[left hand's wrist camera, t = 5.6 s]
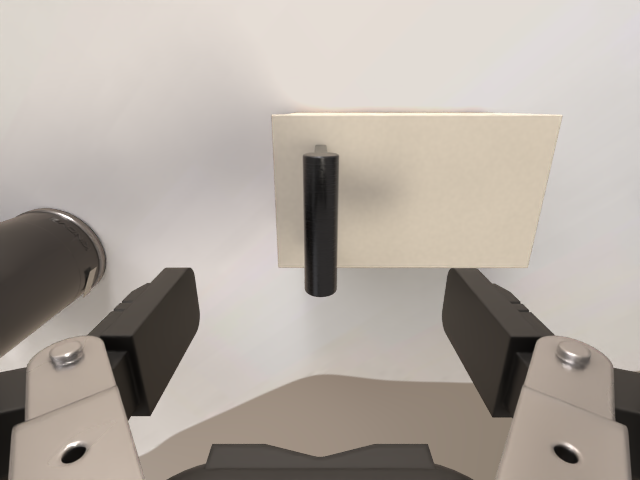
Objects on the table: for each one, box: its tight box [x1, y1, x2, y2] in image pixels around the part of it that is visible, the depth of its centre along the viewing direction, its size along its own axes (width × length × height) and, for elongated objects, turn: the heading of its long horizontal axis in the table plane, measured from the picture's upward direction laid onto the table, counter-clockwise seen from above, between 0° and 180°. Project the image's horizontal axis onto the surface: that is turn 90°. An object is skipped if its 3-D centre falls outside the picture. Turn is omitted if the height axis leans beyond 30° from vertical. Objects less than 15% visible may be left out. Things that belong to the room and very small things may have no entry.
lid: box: [272, 115, 562, 297], centre depth 20 cm, size 18×10×8 cm, turn 90°
